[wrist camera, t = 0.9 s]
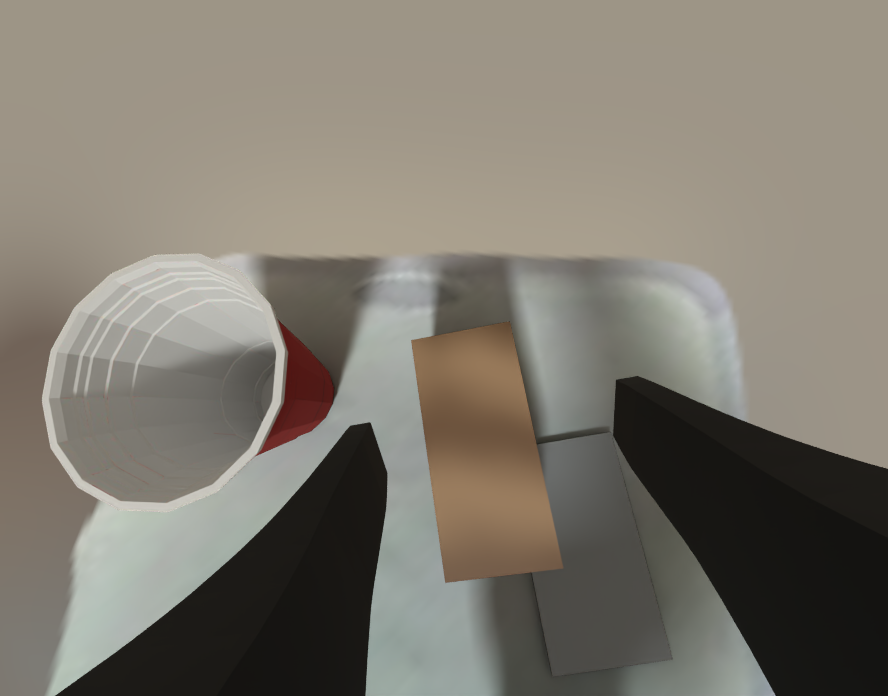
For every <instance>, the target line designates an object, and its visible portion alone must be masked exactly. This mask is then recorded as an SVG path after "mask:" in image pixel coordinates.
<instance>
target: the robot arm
mask: <svg viewBox="0 0 888 696" xmlns="http://www.w3.org/2000/svg"><path fill="white" fill-rule="evenodd" d="M613 436H614V438H615V440H616V442H617V444H618V446H619V447H620V449H621V451H622V453H623V455H624V456H625V458H626V460H627V462H628V463H629V465H630V467H631V468H632V470H633V471H634V473H635V474H636V475H637V477H638V478H639V480H640V481H641V482H642V484H643V485H644V486H645V488H646V489H647V491H648V492H649V493H650V495H651V496H652V497H653V499H654V500H655V501H656V503H657V504H658V505H659V507H660V508H661V510H662V511H663V512H664V514H665V515H666V516H667V518H668V519H669V520H670V522H671V523H672V524H673V526H674V527H675V529H676V530H677V531H678V533H679V534H680V535H681V537H682V538H683V539H684V541H685V542H686V544H687V545H688V547H689V548H690V550H691V551H692V552H693V554H694V555H695V557H696V558H697V560H698V562H699V563H700V565H701V567H702V568H703V570H704V571H705V573H706V575H707V576H708V578H709V580H710V581H711V583H712V585H713V586H714V588H715V590H716V591H717V593H718V594H719V596H720V598H721V599H722V601H723V603H724V605H725V606H726V608H727V610H728V611H729V613H730V615H731V617H732V618H733V620H734V622H735V624H736V625H737V627H738V629H739V630H740V632H741V634H742V636H743V637H744V639H745V641H746V643H747V644H748V646H749V648H750V650H751V651H752V653H753V655H754V657H755V659H756V661H757V662H758V664H759V666H760V668H761V670H762V671H763V673H764V675H765V677H766V679H767V681H768V682H769V684H770V686H771V688H772V690H773V692H774V693H775V695H776V696H888V469H886V468H883V467H879V466H875V465H871V464H868V463H864V462H861V461H858V460H854V459H851V458H848V457H844V456H841V455H838V454H835V453H832V452H829V451H826V450H823V449H820V448H817V447H813V446H811V445H808V444H804V443H802V442H798V441H795V440H793V439H790V438H787V437H784V436H781V435H779V434H776V433H773V432H771V431H768V430H765V429H763V428H760V427H758V426H755V425H752V424H750V423H747V422H745V421H742V420H740V419H737V418H735V417H732V416H730V415H727V414H725V413H723V412H720V411H718V410H715V409H713V408H711V407H709V406H706V405H704V404H702V403H699V402H697V401H695V400H692V399H690V398H688V397H686V396H683V395H681V394H679V393H677V392H674V391H672V390H670V389H668V388H665V387H663V386H661V385H658V384H656V383H654V382H651V381H649V380H646V379H644V378H641V377H638V376H635V377H630V378H624V379H618V380H616V391H615V410H614V430H613ZM386 502H387V471H386V468H385V465H384V462H383V459H382V456H381V453H380V450H379V447H378V444H377V441H376V438H375V435H374V432H373V429H372V426H371V423H370V422H369V423H364V424H358V425H352V426H350V427H349V428H348V429H347V430H346V431H345V433H344V434H343V435H342V437H341V438H340V439H339V440H338V442H337V443H336V444H335V445H334V447H333V448H332V449H331V451H330V452H329V453H328V454H327V456H326V457H325V458H324V459H323V461H322V462H321V463H320V464H319V466H318V467H317V468H316V469H315V471H314V472H313V473H312V474H311V475H310V477H309V478H308V479H307V480H306V481H305V483H304V484H303V485H302V486H301V487H300V488H299V489H298V491H297V492H296V493H295V494H294V495H293V496H292V497H291V498H290V500H289V501H288V502H287V503H286V504H285V505H284V506H283V508H282V509H281V510H280V511H279V512H278V513H277V514H276V515H275V516H274V517H273V518H272V519H271V520H270V521H269V522H268V523H267V524H266V526H265V527H264V528H263V529H262V530H261V531H260V532H258V533H257V534H256V535H255V536H254V537H253V538H252V539H251V540H250V541H249V542H248V543H247V544H246V545H245V546H244V547H243V548H242V549H241V550H240V551H239V552H238V553H237V554H236V555H234V556H233V557H232V558H231V559H230V560H229V561H228V562H227V563H225V564H224V565H223V566H222V567H221V568H220V569H219V570H217V571H216V572H215V573H214V574H213V575H212V576H211V577H209V578H208V579H207V580H206V581H205V582H204V583H203V584H201V585H200V586H199V587H198V588H197V589H196V590H195V591H193V592H192V593H191V594H190V595H189V596H187V597H186V598H185V599H184V600H183V601H181V602H180V603H179V604H178V605H176V606H175V607H174V608H173V609H171V610H170V611H169V612H168V613H166V614H165V615H164V616H163V617H161V618H160V619H159V620H158V621H156V622H155V623H154V624H152V625H151V626H150V627H149V628H147V629H146V630H145V631H143V632H142V633H141V634H140V635H138V636H137V637H136V638H134V639H133V640H132V641H130V642H129V643H128V644H126V645H125V646H124V647H122V648H121V649H120V650H118V651H117V652H116V653H114V654H113V655H111V656H110V657H109V658H107V659H106V660H104V661H103V662H102V663H100V664H99V665H97V666H96V667H95V668H93V669H92V670H91V671H89V672H88V673H86V674H85V675H84V676H82V677H81V678H79V679H78V680H77V681H75V682H74V683H72V684H71V685H70V686H68V687H67V688H65V689H64V690H63V691H61V692H60V693H58V694H57V695H56V696H365V693H366V675H367V657H368V642H369V628H370V614H371V604H372V595H373V588H374V581H375V575H376V569H377V563H378V557H379V550H380V544H381V538H382V532H383V525H384V519H385V512H386Z"/></svg>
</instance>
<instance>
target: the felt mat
mask: <svg viewBox="0 0 888 696" xmlns="http://www.w3.org/2000/svg"><path fill="white" fill-rule="evenodd" d="M537 449H538V453H539V458H540V462H541V467H542V472H543V476H544V481H545V486H546V490H547V495H548V499H549V504H550V509H551V513H552V518H553V522H554V527H555V532H556V536H557V541H558V545H559V550H560V555H561V559H562V564H563V569H555V570H547V571H538V572H531V573H532V578H533V583H534V588H535V593H536V598H537V603H538V608H539V613H540V618H541V623H542V628H543V633H544V638H545V643H546V648H547V653H548V658H549V663H550V668H551V673H552V676H553V677H556V676H563V675H570V674H577V673H583V672H590V671H597V670H604V669H611V668H618V667H624V666H631V665H638V664H645V663H652V662H659V661H665V660H672V659H673V658H672V655H671V651H670V647H669V644H668V640H667V636H666V633H665V629H664V625H663V622H662V618H661V614H660V611H659V607H658V603H657V600H656V596H655V592H654V589H653V585H652V581H651V578H650V574H649V570H648V567H647V563H646V559H645V556H644V552H643V548H642V545H641V541H640V537H639V534H638V530H637V526H636V523H635V519H634V515H633V512H632V508H631V504H630V501H629V497H628V493H627V490H626V486H625V482H624V479H623V475H622V471H621V468H620V464H619V460H618V457H617V453H616V449H615V446H614V442H613V438H612V435H611V432H606V433H600V434H594V435H588V436H582V437H576V438H570V439H564V440H558V441H552V442H546V443H540V444H537Z"/></svg>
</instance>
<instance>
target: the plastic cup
mask: <svg viewBox="0 0 888 696" xmlns="http://www.w3.org/2000/svg"><path fill="white" fill-rule="evenodd" d="M333 394H334V387H333V384H332V380H331V377H330V374H329V372H328V371H327V369H326V368H325V367H324V366H323V365H322V364H321V363H320V362H319V360H318V359H317V358H316V357H315V356H314V355H313V354H312V353H311V352H310V350H309V349H308V348H307V347H306V346H305V345H304V344H303V343H302V342H301V341H300V340H299V339H298V338H297V337H295V336H294V335H293V334H292V333H291V332H290V331H289V330H288V329H287V328H286V327H285V326H284V325H283V324H282V323H281V322H280V321H279V320H278V319H277V316H276V313H275V310H274V308H273V307H272V305H271V304H270V303H269V302H268V301H267V300H266V299H265V298H264V297H263V295H262V294H261V293H260V292H259V291H258V290H257V289H256V288H255V287H254V286H253V284H252V283H251V282H250V281H249V280H248V279H247V278H246V277H245V276H244V274H243V273H242V272H241V271H240V270H238V269H235V268H233V267H230V266H228V265H226V264H223V263H221V262H218V261H216V260H214V259H211V258H209V257H206V256H204V255H201V254H169V255H168V254H167V255H153V256H151V257H148V258H146V259H144V260H141V261H139V262H137V263H135V264H132V265H130V266H127V267H125V268H123V269H120V270H118V271H116V272H113V273H111V274H110V275H109V276H108V277H107V278H106V279H105V280H104V281H102V282H101V283H100V284H99V285H98V286H97V287H96V288H95V289H94V290H93V291H92V292H91V293H90V294H88V295H87V296H86V297H85V298H84V299H83V300H82V301H81V302H80V303H79V304H77V305H76V306H75V308H74V310H73V311H72V313H71V315H70V317H69V319H68V320H67V322H66V324H65V326H64V328H63V330H62V331H61V333H60V335H59V337H58V338H57V340H56V342H55V344H54V346H53V347H52V349H51V352H50V358H49V363H48V369H47V375H46V380H45V385H44V391H43V396H42V404H43V409H44V414H45V420H46V425H47V431H48V436H49V442H50V447H51V449H52V451H53V452H54V454H55V455H56V457H57V458H58V460H59V461H60V462H61V464H62V465H63V467H64V468H65V470H66V471H67V473H68V474H69V476H70V477H71V479H72V480H73V482H74V483H75V485H76V486H77V487H78V488H80V489H82V490H83V491H85V492H87V493H89V494H91V495H92V496H94V497H96V498H98V499H99V500H101V501H103V502H105V503H106V504H108V505H110V506H112V507H114V508H115V509H117V510H126V511H149V512H170V511H172V510H175V509H177V508H180V507H182V506H184V505H187V504H189V503H192V502H194V501H197V500H199V499H202V498H204V497H207V496H209V495H211V494H214V493H216V492H218V491H219V490H220V489H221V488H223V487H224V486H225V485H226V484H227V483H228V482H229V481H230V480H231V479H232V478H233V477H234V476H235V475H236V474H237V473H238V472H239V471H240V470H241V469H242V468H243V467H244V466H245V465H246V464H247V463H248V462H249V461H250V460H252V459H253V458H254V457H255V456H257V455H259V454H261V453H264V452H266V451H268V450H271V449H273V448H275V447H277V446H280V445H282V444H284V443H287V442H289V441H291V440H293V439H296V438H297V437H298V436H300V435H303V434H305V433H308V432H310V431H312V430H313V429H314V428H315V427H316V426H317V425H318V424H319V423H321V422H322V421H323V420H324V419H325V418H326V416H327V414H328V412H329V410H330V408H331V406H332V404H333Z"/></svg>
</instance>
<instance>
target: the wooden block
mask: <svg viewBox="0 0 888 696" xmlns="http://www.w3.org/2000/svg"><path fill="white" fill-rule="evenodd" d="M411 342H412V349H413V356H414V363H415V370H416V378H417V385H418V392H419V399H420V406H421V413H422V420H423V427H424V434H425V441H426V449H427V456H428V463H429V470H430V477H431V484H432V491H433V498H434V505H435V513H436V520H437V527H438V534H439V541H440V548H441V555H442V562H443V569H444V576H445V583H447V582H456V581H464V580H472V579H480V578H489V577H497V576H505V575H513V574H522V573H530V572H538V571H547V570H555V569H563V564H562V559H561V555H560V550H559V545H558V541H557V536H556V532H555V527H554V522H553V518H552V513H551V509H550V504H549V499H548V495H547V490H546V486H545V481H544V476H543V472H542V467H541V462H540V458H539V453H538V449H537V444H536V439H535V435H534V430H533V426H532V421H531V416H530V412H529V407H528V403H527V398H526V393H525V389H524V384H523V379H522V375H521V370H520V366H519V361H518V356H517V352H516V347H515V343H514V338H513V333H512V329H511V324H510V321H509V322H503V323H498V324H493V325H488V326H483V327H478V328H472V329H467V330H462V331H457V332H452V333H447V334H442V335H436V336H431V337H426V338H421V339H416V340H411Z"/></svg>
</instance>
